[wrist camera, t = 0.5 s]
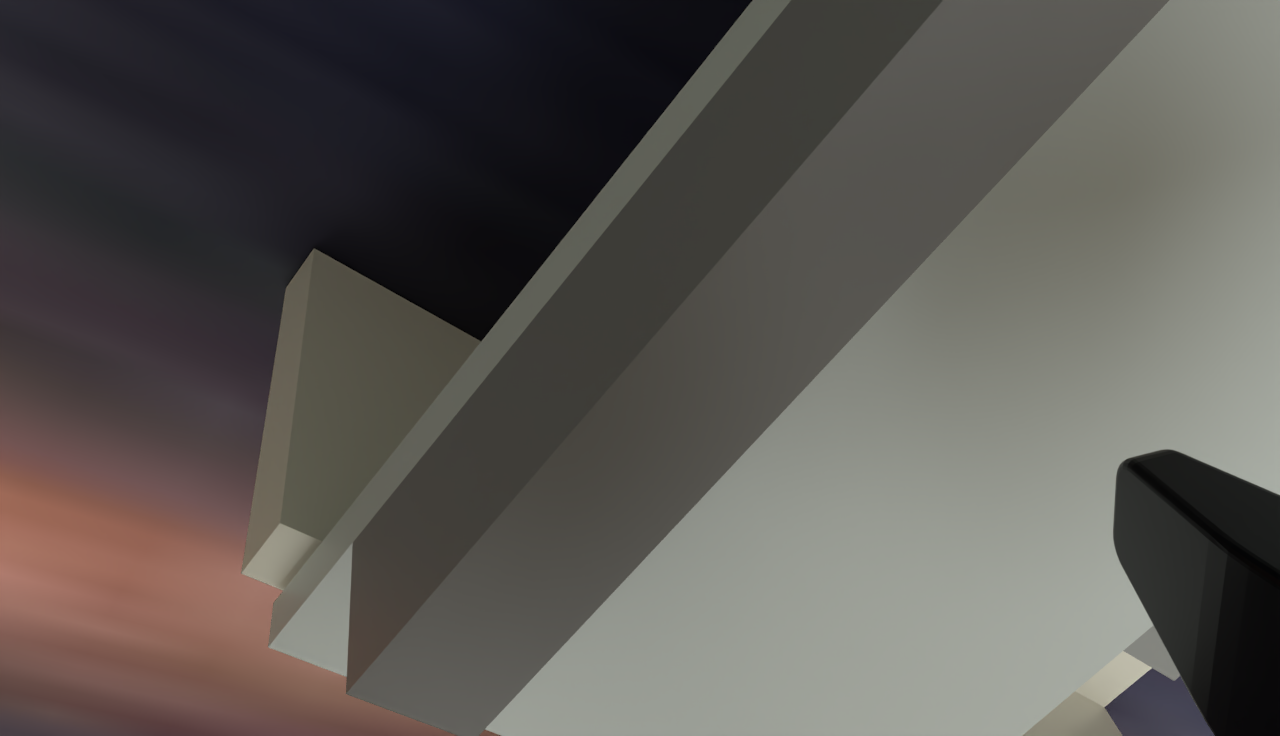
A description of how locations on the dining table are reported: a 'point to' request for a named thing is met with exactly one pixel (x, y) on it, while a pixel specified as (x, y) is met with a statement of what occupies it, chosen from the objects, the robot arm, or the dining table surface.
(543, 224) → the dining table surface
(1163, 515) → the robot arm
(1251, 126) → the lid
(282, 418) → the housing
